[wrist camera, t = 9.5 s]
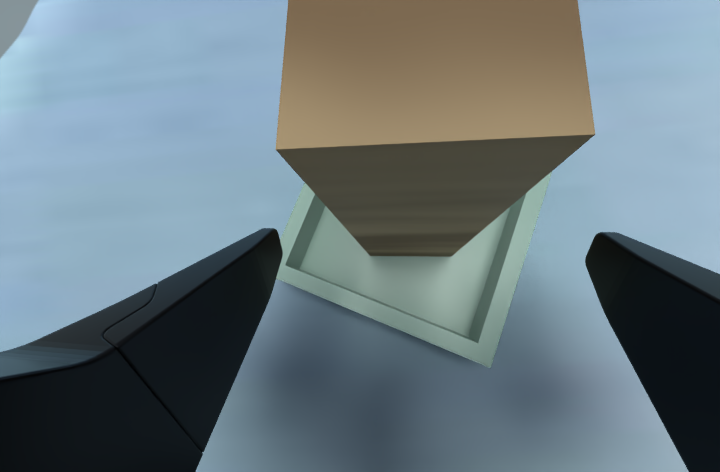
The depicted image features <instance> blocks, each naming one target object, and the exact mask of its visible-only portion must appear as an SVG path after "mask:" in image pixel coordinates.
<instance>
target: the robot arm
mask: <svg viewBox="0 0 720 472" xmlns="http://www.w3.org/2000/svg"><path fill="white" fill-rule="evenodd" d="M282 256H283V250H282V246H281V242H280V239H279V235H278V232H277V230H276V229H273V228H263V229H261V230H259V231H257V232H255V233H253V234H251V235H249V236H247V237H245V238H243V239H241V240H239V241H237V242H235V243H233V244H231V245H230V246H228V247H226V248H224V249H222V250H220V251H218V252H216V253H214V254H212V255H210V256H208V257H206V258H204V259H202V260H200V261H199V262H197V263H195V264H193V265H191V266H189V267H187V268H185V269H183V270H181V271H179V272H177V273H175V274H173V275H171V276H169V277H168V278H166V279H164V280H162V281H160V282H158V284H154V285H152V286H150V287H148V288H146V289H144V290H142V291H140V292H138V293H136V294H134V295H132V296H130V297H128V298H126V299H124V300H122V301H120V302H118V303H116V304H114V305H112V306H109V307H107V308H105V309H103V310H101V311H99V312H97V313H95V314H92V315H90V316H88V317H86V318H84V319H81V320H79V321H77V322H75V323H73V324H70V325H68V326H66V327H64V328H62V329H60V330H57V331H55V332H53V333H51V334H49V335H46V336H44V337H42V338H40V339H38V340H35V341H33V342H31V343H28V344H26V345H23V346H20V347H17V348H14V349H11V350H7V351H3V352H0V472H195V471H196V469H197V466H198V464H199V462H200V460H201V457H202V455H203V453H202V452H204V450H205V447H206V445H207V443H208V440H209V438H210V436H211V433H212V431H213V429H214V427H215V424H216V422H217V420H218V417H219V415H220V413H221V410H222V408H223V406H224V403H225V401H226V399H227V397H228V394H229V392H230V390H231V387H232V385H233V383H234V380H235V378H236V376H237V373H238V371H239V369H240V366H241V364H242V362H243V360H244V357H245V355H246V353H247V350H248V348H249V346H250V343H251V341H252V339H253V336H254V334H255V332H256V330H257V327H258V325H259V323H260V320H261V318H262V316H263V313H264V311H265V309H266V306H267V304H268V302H269V299H270V296H271V293H272V290H273V287H274V284H275V280H276V277H277V274H278V270H279V267H280V264H281V260H282ZM585 263H586V267H587V270H588V272H589V275H590V278H591V280H592V283H593V285H594V288H595V290H596V293H597V296H598V298H599V301H600V303H601V306H602V308H603V311H604V313H605V315H606V317H607V319H608V321H609V323H610V325H611V327H612V329H613V331H614V332H615V334H616V336H617V338H618V340H619V342H620V344H621V346H622V347H623V349H624V351H625V353H626V355H627V357H628V359H629V361H630V362H631V364H632V366H633V368H634V370H635V372H636V374H637V375H638V377H639V379H640V381H641V383H642V385H643V387H644V389H645V390H646V392H647V394H648V396H649V398H650V400H651V402H652V404H653V405H654V407H655V409H656V411H657V413H658V415H659V417H660V419H661V420H662V422H663V424H664V426H665V428H666V430H667V432H668V434H669V435H670V437H671V439H672V441H673V443H674V445H675V447H676V449H677V450H678V452H679V454H680V456H681V458H682V460H683V462H684V464H685V465H686V467H687V469H688V471H689V472H720V274H718V273H715V272H713V271H710V270H708V269H706V268H703V267H701V266H698V265H696V264H693V263H691V262H688V261H686V260H683V259H681V258H678V257H676V256H674V255H671V254H669V253H666V252H664V251H661V250H659V249H656V248H654V247H651V246H649V245H646V244H644V243H642V242H639V241H637V240H634V239H632V238H629V237H627V236H624V235H622V234H619V233H615V232H600V233H598V234H596V236H595V237H594V239H593V242H592V244H591V246H590V249H589V251H588V253H587V256H586V260H585Z"/></svg>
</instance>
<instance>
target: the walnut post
mask: <svg viewBox="0 0 720 472" xmlns="http://www.w3.org/2000/svg"><path fill="white" fill-rule="evenodd" d="M594 135H595V129H594V122H593V114H592V107H591V99H590V92H589V84H588V77H587V69H586V62H585V54H584V47H583V39H582V31H581V24H580V16H579V9H578V1H577V0H288V11H287V23H286V35H285V46H284V58H283V70H282V81H281V93H280V105H279V116H278V128H277V140H276V150H277V151H278V153H279V154H280V155H281V156H282V157H283V158H284V159H285V161H286V162H287V163H288V164H289V165H290V166H291V167H292V168H293V170H294V171H295V172H296V173H297V174H298V175H299V176H300V177H301V179H302V180H303V181H304V182H305V183H306V184H307V185H308V186H309V188H310V189H311V190H312V191H313V192H314V193H315V194H316V195H317V197H318V198H319V199H320V200H321V201H322V202H323V203H324V205H325V206H326V207H327V208H328V209H329V210H330V211H331V212H332V214H333V215H334V216H335V217H336V218H337V219H338V220H339V221H340V223H341V224H342V225H343V226H344V227H345V228H346V229H347V230H348V232H349V233H350V234H351V235H352V236H353V237H354V238H355V240H356V241H357V242H358V243H359V244H360V245H361V246H362V247H363V249H364V250H365V251H366V252H367V253H368V254H369V255H370V256H429V257H452V256H453V255H454V254H455V253H456V252H457V251H459V250H460V249H461V248H462V247H463V246H464V245H466V244H467V243H468V242H469V241H470V240H472V239H473V238H474V237H475V236H476V235H477V234H479V233H480V232H481V231H482V230H483V229H484V228H486V227H487V226H488V225H489V224H490V223H491V222H493V221H494V220H495V219H496V218H497V217H499V216H500V215H501V214H502V213H503V212H504V211H506V210H507V209H508V208H509V207H510V206H511V205H513V204H514V203H515V202H516V201H517V200H519V199H520V198H521V197H522V196H523V195H524V194H526V193H527V192H528V191H529V190H530V189H531V188H533V187H534V186H535V185H536V184H537V183H539V182H540V181H541V180H542V179H543V178H544V177H546V176H547V175H548V174H549V173H550V172H551V171H553V170H554V169H555V168H556V167H557V166H559V165H560V164H561V163H562V162H563V161H564V160H566V159H567V158H568V157H569V156H570V155H571V154H573V153H574V152H575V151H576V150H577V149H579V148H580V147H581V146H582V145H583V144H584V143H586V142H587V141H588V140H589V139H590V138H591V137H593V136H594Z"/></svg>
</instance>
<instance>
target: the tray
mask: <svg viewBox="0 0 720 472" xmlns="http://www.w3.org/2000/svg"><path fill="white" fill-rule="evenodd" d="M551 173H552V171H551V172H550V173H549V174H548V175H547V176H546V177H544V178H543V179H542V180H541V181H540V182H539V183H537V184H536V185H535V186H534V187H533V188H531V189H530V190H529V191H528V192H527V193H526V194H524V195H523V196H522V197H521V198H520V199H519V200H517V201H516V202H515V203H514V204H513V205H511V206H510V207H509V208H508V209H507V210H506V211H504V212H503V213H502V214H501V215H500V216H499V217H497V218H496V219H495V220H494V221H493V222H491V223H490V224H489V225H488V226H487V227H486V228H484V229H483V230H482V231H481V232H480V233H479V234H477V235H476V236H475V237H474V238H473V239H472V240H470V241H469V242H468V243H467V244H466V245H464V246H463V247H462V248H461V249H460V250H459V251H457V252H456V253H455V254H454V255H453V256H452V257H429V256H370V255H369V254H368V253H367V252H366V251H365V250H364V249H363V247H362V246H361V245H360V244H359V243H358V242H357V241H356V240H355V238H354V237H353V236H352V235H351V234H350V233H349V232H348V230H347V229H346V228H345V227H344V226H343V225H342V224H341V223H340V221H339V220H338V219H337V218H336V217H335V216H334V215H333V214H332V212H331V211H330V210H329V209H328V208H327V207H326V206H325V205H324V203H323V202H322V201H321V200H320V199H319V198H318V197H317V195H316V194H315V193H314V192H313V191H312V190H311V189H310V188H309V186H308V185H307V184H306V183H304V185H303V188H302V190H301V192H300V195H299V197H298V199H297V202H296V204H295V206H294V209H293V211H292V213H291V216H290V218H289V220H288V223H287V225H286V227H285V230H284V232H283V234H282V237H281V239H280V242H281V246H282V250H283V256H282V260H281V264H280V267H279V270H278V274H277V277H276V279H278V280H281V281H283V282H285V283H288V284H290V285H293V286H295V287H297V288H300V289H302V290H305V291H307V292H309V293H312V294H314V295H316V296H319V297H321V298H324V299H326V300H328V301H331V302H333V303H336V304H338V305H340V306H343V307H345V308H348V309H350V310H352V311H355V312H357V313H360V314H362V315H364V316H367V317H369V318H372V319H374V320H376V321H379V322H381V323H383V324H386V325H388V326H391V327H393V328H395V329H398V330H400V331H403V332H405V333H407V334H410V335H412V336H415V337H417V338H419V339H422V340H424V341H427V342H429V343H431V344H434V345H436V346H439V347H441V348H443V349H446V350H448V351H451V352H453V353H455V354H458V355H460V356H462V357H465V358H467V359H470V360H472V361H474V362H477V363H479V364H482V365H484V366H486V367H489V368H491V365H492V362H493V359H494V356H495V352H496V349H497V346H498V343H499V340H500V336H501V333H502V330H503V327H504V324H505V320H506V317H507V314H508V311H509V308H510V304H511V301H512V298H513V295H514V292H515V288H516V285H517V282H518V279H519V276H520V272H521V269H522V266H523V263H524V260H525V256H526V253H527V250H528V247H529V244H530V240H531V237H532V234H533V231H534V228H535V224H536V221H537V218H538V215H539V212H540V208H541V205H542V202H543V199H544V196H545V192H546V189H547V186H548V183H549V180H550V176H551Z"/></svg>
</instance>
